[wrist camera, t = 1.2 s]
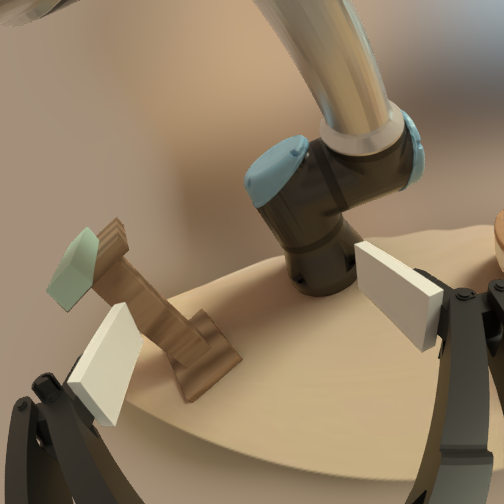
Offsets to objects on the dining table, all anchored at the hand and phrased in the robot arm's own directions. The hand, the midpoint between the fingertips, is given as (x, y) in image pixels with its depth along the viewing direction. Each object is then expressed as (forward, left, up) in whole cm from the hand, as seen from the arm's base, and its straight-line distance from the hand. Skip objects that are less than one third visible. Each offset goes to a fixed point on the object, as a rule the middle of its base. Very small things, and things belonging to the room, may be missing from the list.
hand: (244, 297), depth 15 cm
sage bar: (-10, -23, +3) cm, 26 cm away
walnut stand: (-16, -28, -25) cm, 41 cm away
